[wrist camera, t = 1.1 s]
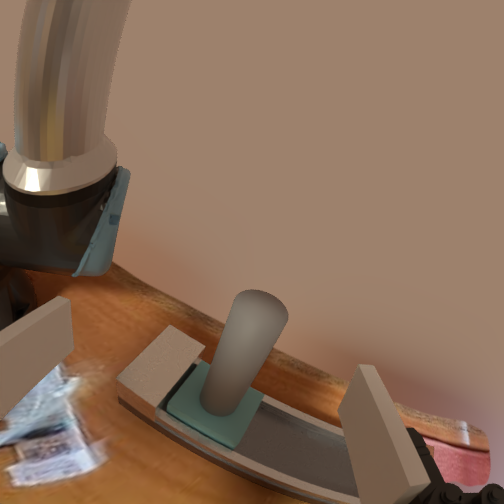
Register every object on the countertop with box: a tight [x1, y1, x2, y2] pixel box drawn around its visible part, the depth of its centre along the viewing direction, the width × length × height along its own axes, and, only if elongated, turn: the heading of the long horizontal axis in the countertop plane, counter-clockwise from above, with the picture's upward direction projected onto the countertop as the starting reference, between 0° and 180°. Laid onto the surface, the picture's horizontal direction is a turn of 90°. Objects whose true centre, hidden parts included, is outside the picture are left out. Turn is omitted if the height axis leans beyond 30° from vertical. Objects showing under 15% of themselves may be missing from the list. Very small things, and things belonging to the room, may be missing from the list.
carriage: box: [166, 290, 288, 451], centre depth 25 cm, size 8×7×17 cm
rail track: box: [116, 325, 434, 504], centre depth 27 cm, size 38×10×6 cm, turn 66°
